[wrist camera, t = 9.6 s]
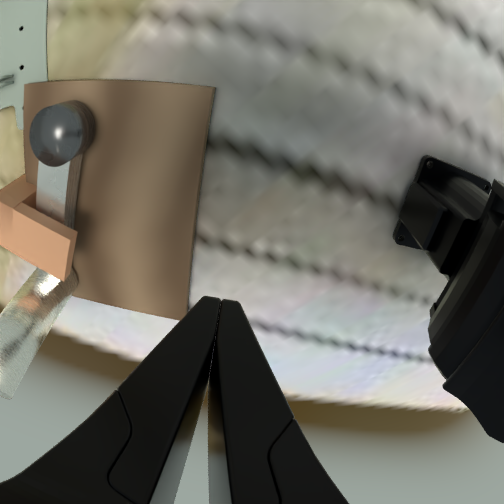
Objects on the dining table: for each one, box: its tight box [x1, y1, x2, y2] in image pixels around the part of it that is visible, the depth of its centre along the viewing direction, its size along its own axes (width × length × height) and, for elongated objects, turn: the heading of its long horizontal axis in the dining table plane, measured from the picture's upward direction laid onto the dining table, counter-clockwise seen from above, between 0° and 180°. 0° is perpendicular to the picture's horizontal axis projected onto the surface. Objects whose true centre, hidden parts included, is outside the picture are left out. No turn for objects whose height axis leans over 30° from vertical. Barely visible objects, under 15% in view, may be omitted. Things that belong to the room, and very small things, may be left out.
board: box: [23, 79, 215, 320], centre depth 20 cm, size 13×17×1 cm
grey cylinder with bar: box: [0, 100, 95, 399], centre depth 14 cm, size 16×4×11 cm, turn 159°
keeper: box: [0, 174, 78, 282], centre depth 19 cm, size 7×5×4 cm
